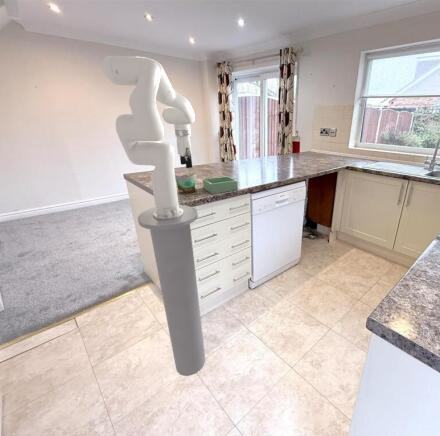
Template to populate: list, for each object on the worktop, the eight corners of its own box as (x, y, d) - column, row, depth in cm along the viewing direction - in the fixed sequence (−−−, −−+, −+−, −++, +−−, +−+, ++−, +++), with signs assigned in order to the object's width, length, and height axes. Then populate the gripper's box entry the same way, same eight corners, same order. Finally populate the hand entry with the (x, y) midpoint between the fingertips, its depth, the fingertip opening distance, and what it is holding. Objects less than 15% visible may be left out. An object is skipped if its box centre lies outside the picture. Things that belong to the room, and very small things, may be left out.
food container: (181, 195, 135) (179, 177, 131) (176, 193, 139) (174, 175, 135) (201, 191, 144) (200, 174, 140) (195, 188, 147) (194, 172, 143)
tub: (237, 189, 148) (237, 180, 146) (211, 194, 140) (210, 184, 137) (228, 184, 158) (228, 176, 156) (203, 188, 149) (202, 179, 147)
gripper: (171, 132, 133) (175, 163, 140) (180, 135, 120) (184, 170, 127) (185, 131, 137) (188, 162, 144) (195, 135, 124) (198, 168, 131)
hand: (186, 166), depth 136 cm, fingers open, 9 cm apart
